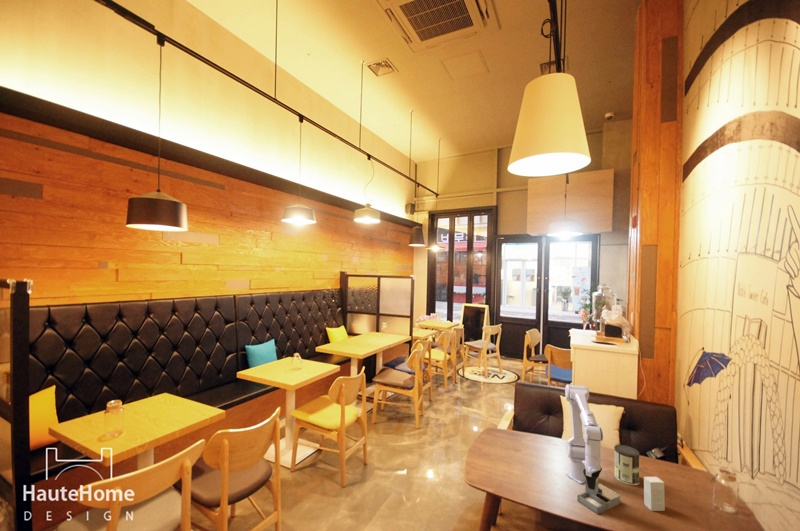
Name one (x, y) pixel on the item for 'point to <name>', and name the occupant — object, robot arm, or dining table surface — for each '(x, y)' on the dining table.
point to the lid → (607, 492)
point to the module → (591, 489)
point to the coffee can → (626, 464)
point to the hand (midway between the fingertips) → (592, 486)
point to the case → (596, 502)
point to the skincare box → (654, 494)
